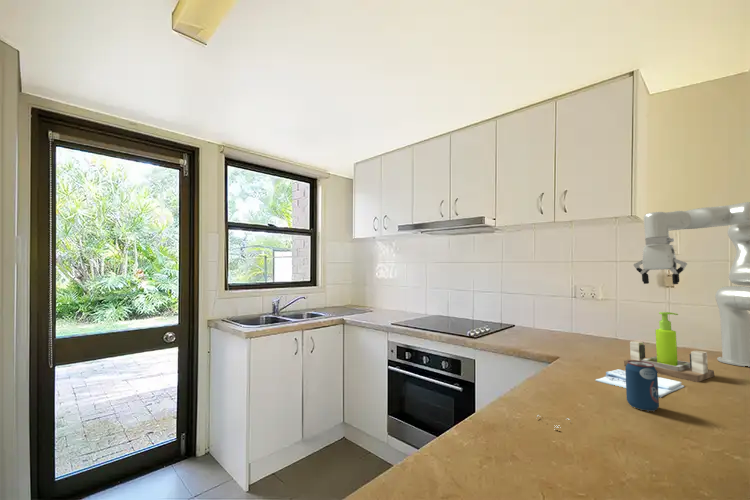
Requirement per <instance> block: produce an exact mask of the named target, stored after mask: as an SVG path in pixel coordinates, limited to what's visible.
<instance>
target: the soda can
mask: <svg viewBox="0 0 750 500" xmlns="http://www.w3.org/2000/svg"><path fill="white" fill-rule="evenodd" d="M628 360H629V359H628ZM624 367H625V369H624V371H626V390H625V393H626V401H627V403H628V404H629V406H630V405H631V406H632V407H631V406H630V407H631V408H633V407H635V408H638V409H641V410H640V411H642V410H647V411H646V412H649V411H653V412H656V411H655V410H657V409H658V408H659V407H660V402H659V401H660V398H659V396H658V373H657V370H656V369H655V367H654V364H652V363H649V362H644V361H637V360H629V361H628V364H627V365H626V366H624ZM635 408H634V409H635ZM638 409H637V410H638Z"/></svg>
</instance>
